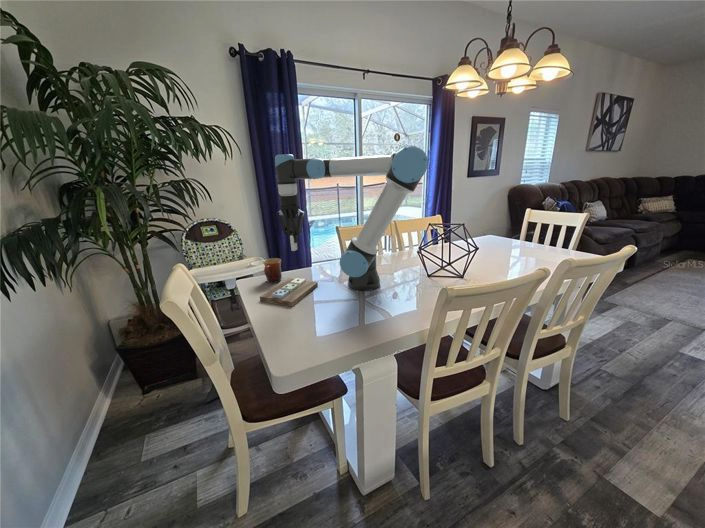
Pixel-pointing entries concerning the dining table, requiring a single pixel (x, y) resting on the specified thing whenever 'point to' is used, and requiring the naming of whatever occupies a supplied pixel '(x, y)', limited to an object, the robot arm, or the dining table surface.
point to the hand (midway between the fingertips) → (294, 249)
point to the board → (293, 296)
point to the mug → (272, 269)
